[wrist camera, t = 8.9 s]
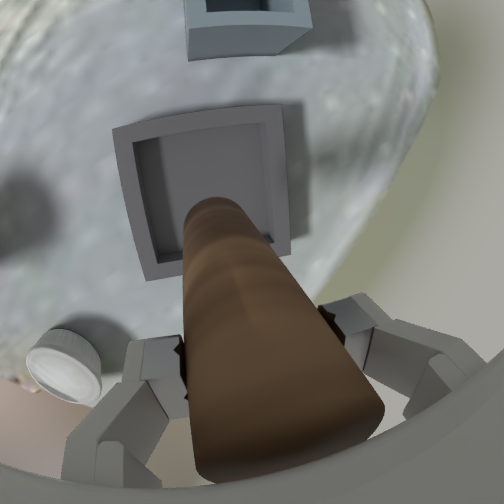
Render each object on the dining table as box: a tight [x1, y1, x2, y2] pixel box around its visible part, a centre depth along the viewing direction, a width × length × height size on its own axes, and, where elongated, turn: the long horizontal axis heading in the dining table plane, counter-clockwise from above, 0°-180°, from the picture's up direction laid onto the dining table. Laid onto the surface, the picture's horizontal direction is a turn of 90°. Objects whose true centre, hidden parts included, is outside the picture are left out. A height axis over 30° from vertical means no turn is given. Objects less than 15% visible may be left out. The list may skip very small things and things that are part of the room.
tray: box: [112, 104, 291, 281], centre depth 25 cm, size 15×15×3 cm
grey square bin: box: [184, 0, 313, 61], centre depth 16 cm, size 8×8×9 cm
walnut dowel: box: [183, 197, 385, 484], centre depth 11 cm, size 4×4×14 cm
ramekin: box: [26, 329, 102, 404], centre depth 28 cm, size 11×11×5 cm
